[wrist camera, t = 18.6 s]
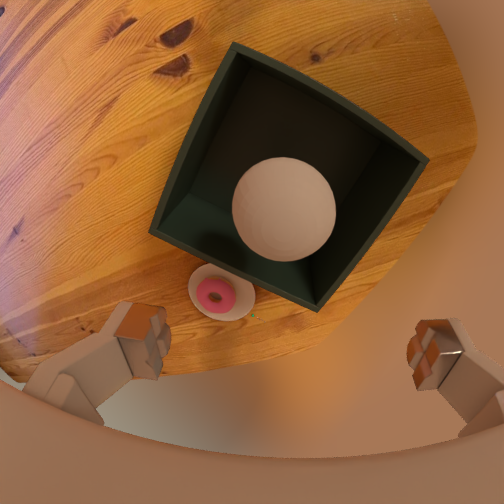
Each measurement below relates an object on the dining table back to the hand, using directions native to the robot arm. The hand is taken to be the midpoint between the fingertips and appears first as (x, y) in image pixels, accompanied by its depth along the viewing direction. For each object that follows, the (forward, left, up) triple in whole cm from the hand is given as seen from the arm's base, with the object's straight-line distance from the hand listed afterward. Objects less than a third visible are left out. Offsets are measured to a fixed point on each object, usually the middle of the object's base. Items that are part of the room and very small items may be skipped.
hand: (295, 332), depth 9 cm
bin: (0, 0, -22) cm, 22 cm away
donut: (+11, +13, -22) cm, 28 cm away
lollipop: (0, -1, -22) cm, 22 cm away
